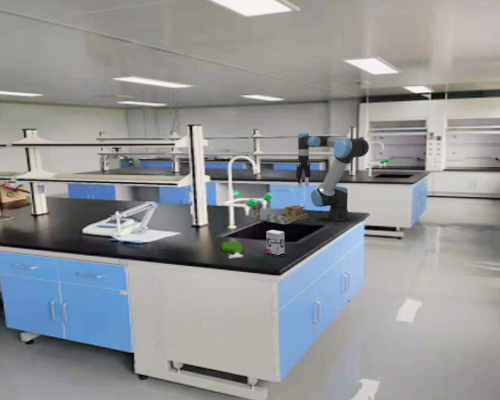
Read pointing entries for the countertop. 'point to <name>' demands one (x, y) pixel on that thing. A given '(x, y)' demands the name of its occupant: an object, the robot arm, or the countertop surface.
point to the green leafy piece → (233, 249)
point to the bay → (284, 218)
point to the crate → (293, 211)
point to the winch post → (257, 211)
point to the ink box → (275, 242)
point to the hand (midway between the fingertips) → (303, 186)
